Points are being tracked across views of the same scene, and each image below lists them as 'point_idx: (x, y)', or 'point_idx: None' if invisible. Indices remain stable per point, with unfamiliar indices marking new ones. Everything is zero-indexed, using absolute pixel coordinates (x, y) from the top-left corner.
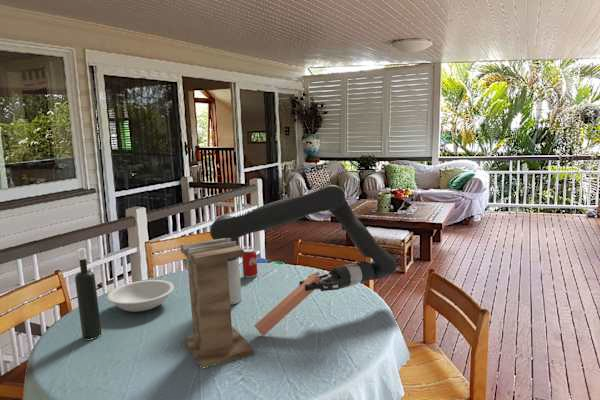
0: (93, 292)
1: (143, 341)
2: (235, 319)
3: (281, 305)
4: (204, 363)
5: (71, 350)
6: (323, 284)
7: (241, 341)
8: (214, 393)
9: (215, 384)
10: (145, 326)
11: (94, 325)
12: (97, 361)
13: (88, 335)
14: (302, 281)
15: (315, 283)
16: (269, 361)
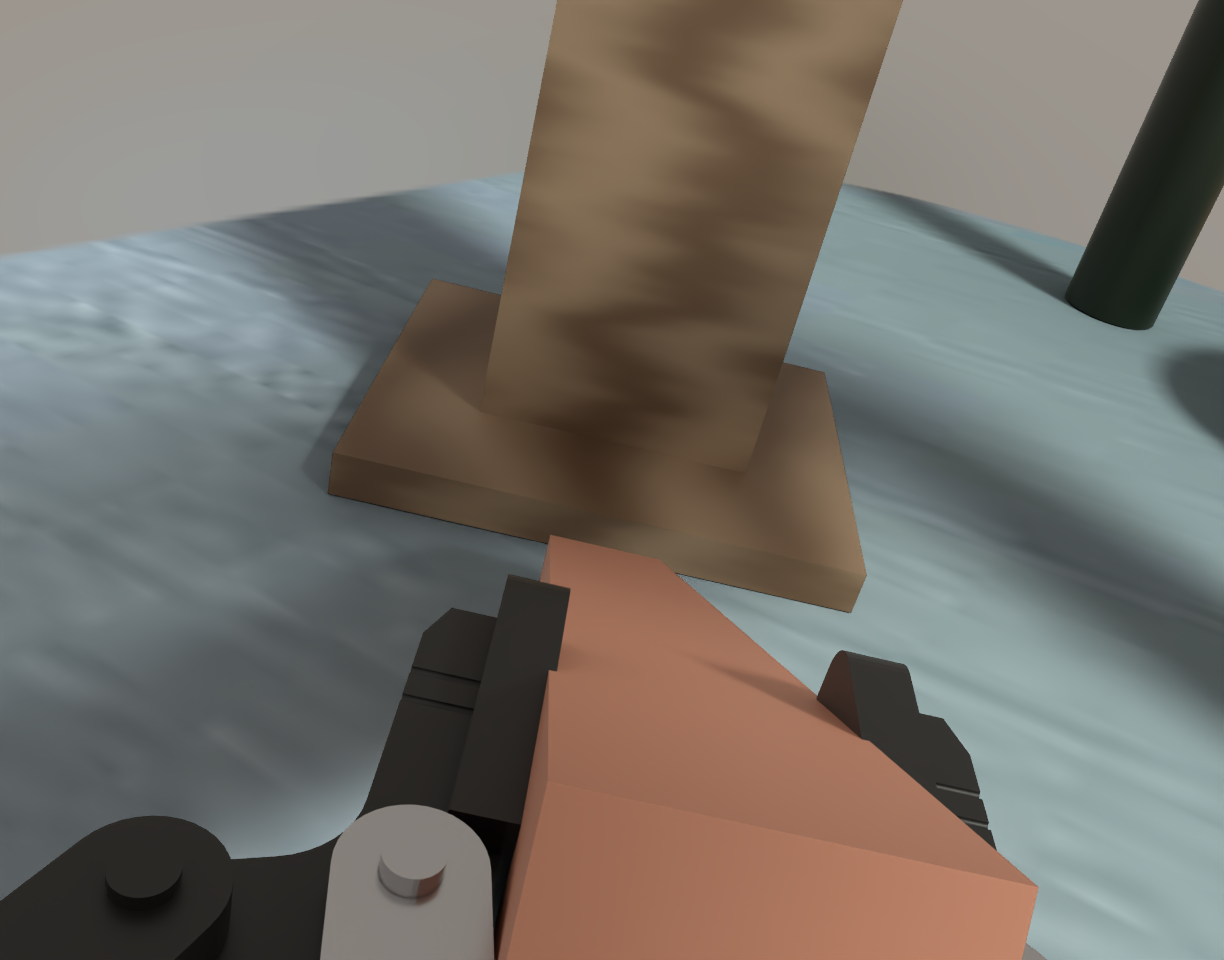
0: (1200, 65)
1: (951, 350)
2: (1102, 743)
3: (613, 580)
4: (427, 288)
5: (984, 252)
6: (34, 898)
7: (527, 473)
8: (141, 238)
9: (212, 270)
10: (1162, 419)
11: (1103, 238)
12: (828, 242)
13: (1075, 271)
14: (851, 687)
15: (443, 828)
16: (106, 480)
